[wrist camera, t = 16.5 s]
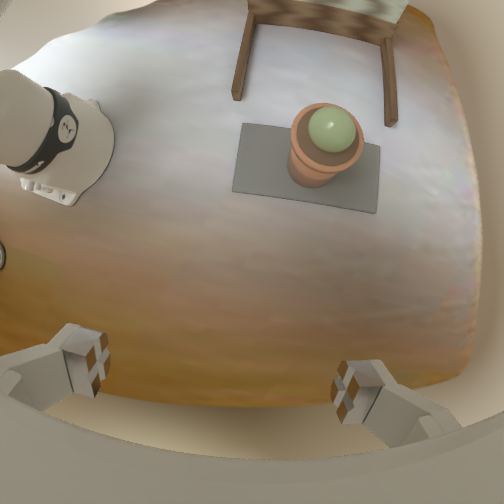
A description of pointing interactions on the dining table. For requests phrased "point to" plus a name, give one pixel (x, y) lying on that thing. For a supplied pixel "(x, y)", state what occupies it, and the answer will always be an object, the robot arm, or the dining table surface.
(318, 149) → the seedling pot
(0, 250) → the ceramic mug
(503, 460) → the robot arm
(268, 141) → the potting mat
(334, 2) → the brown wooden frame
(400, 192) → the dining table surface
